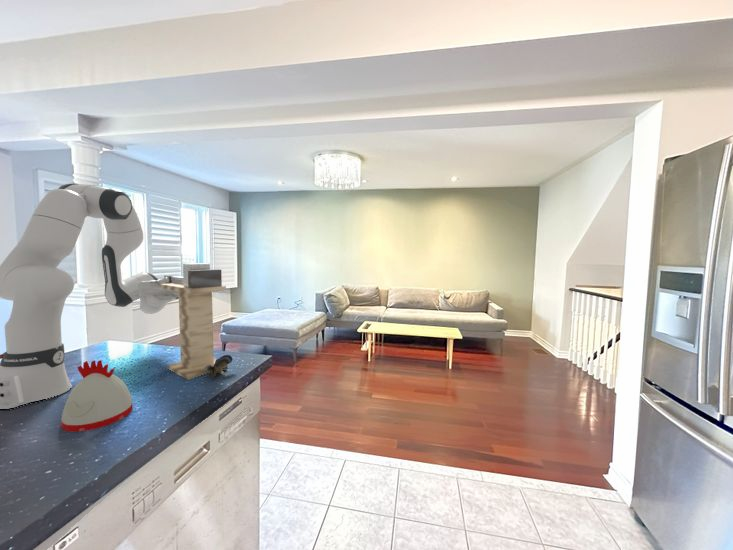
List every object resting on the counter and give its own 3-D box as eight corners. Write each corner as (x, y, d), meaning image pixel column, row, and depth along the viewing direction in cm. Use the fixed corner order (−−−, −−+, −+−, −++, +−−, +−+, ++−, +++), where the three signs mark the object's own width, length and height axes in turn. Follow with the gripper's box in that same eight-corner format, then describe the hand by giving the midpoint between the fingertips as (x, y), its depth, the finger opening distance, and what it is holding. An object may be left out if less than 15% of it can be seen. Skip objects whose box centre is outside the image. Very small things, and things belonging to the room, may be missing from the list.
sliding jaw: (158, 282, 119) (157, 262, 119) (177, 281, 125) (176, 261, 124) (190, 287, 104) (189, 264, 103) (210, 285, 110) (209, 263, 109)
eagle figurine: (228, 376, 102) (238, 362, 110) (215, 361, 100) (225, 347, 109) (210, 387, 102) (221, 372, 111) (196, 372, 101) (208, 358, 109)
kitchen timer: (91, 404, 85) (88, 352, 84) (144, 402, 86) (141, 351, 85) (45, 433, 71) (40, 372, 70) (108, 430, 73) (104, 370, 72)
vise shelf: (160, 365, 114) (156, 268, 111) (198, 355, 125) (195, 267, 123) (190, 381, 100) (187, 271, 97) (230, 368, 112) (228, 269, 109)
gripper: (130, 288, 119) (140, 272, 111) (185, 284, 135) (197, 270, 128) (133, 302, 117) (144, 287, 110) (189, 296, 134) (201, 283, 126)
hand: (173, 278), depth 119 cm, fingers closed on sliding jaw, 3 cm apart
